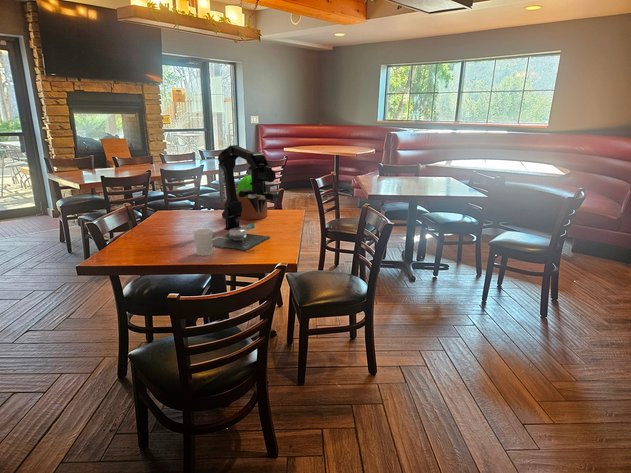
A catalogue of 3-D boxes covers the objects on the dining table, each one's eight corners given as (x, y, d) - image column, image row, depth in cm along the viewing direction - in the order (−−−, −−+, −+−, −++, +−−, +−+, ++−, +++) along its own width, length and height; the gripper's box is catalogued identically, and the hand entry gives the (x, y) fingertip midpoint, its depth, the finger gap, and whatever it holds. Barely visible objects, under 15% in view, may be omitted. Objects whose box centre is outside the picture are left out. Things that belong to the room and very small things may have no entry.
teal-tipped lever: (240, 239, 190) (240, 232, 189) (226, 237, 193) (225, 231, 192) (259, 230, 204) (259, 224, 204) (246, 228, 208) (245, 222, 207)
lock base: (201, 244, 191) (201, 239, 190) (229, 232, 210) (229, 228, 209) (245, 251, 182) (244, 246, 181) (270, 238, 201) (270, 233, 200)
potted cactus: (226, 216, 244) (223, 174, 237) (258, 210, 258) (256, 170, 250) (245, 223, 228) (243, 178, 221) (278, 216, 241) (277, 174, 234)
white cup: (204, 257, 174) (202, 235, 171) (191, 254, 178) (189, 232, 175) (217, 252, 181) (216, 230, 178) (205, 249, 185) (203, 228, 182)
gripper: (283, 178, 196) (284, 210, 200) (249, 176, 203) (251, 207, 208) (271, 182, 186) (272, 215, 191) (237, 179, 193) (239, 211, 198)
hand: (258, 212), depth 197 cm, fingers closed
